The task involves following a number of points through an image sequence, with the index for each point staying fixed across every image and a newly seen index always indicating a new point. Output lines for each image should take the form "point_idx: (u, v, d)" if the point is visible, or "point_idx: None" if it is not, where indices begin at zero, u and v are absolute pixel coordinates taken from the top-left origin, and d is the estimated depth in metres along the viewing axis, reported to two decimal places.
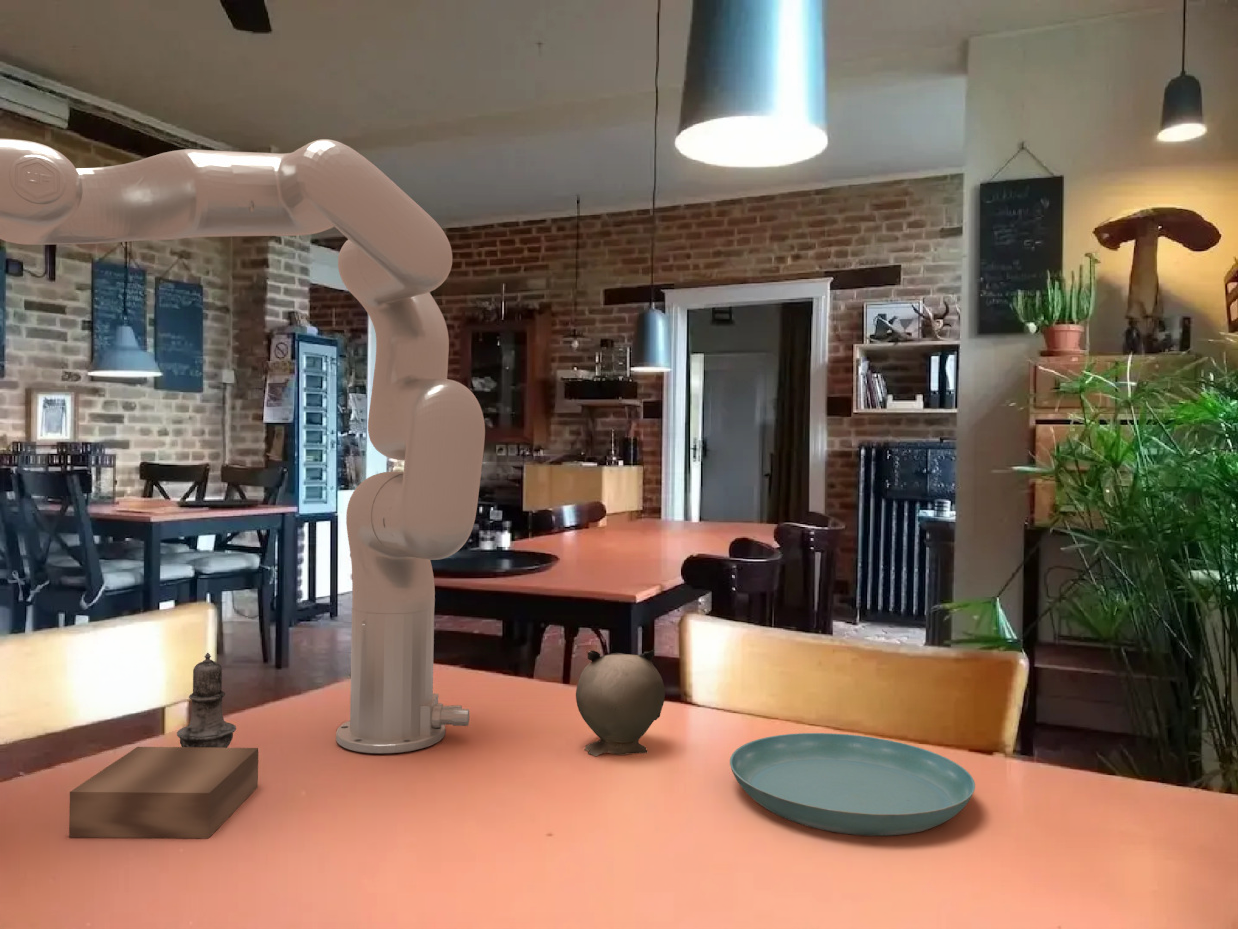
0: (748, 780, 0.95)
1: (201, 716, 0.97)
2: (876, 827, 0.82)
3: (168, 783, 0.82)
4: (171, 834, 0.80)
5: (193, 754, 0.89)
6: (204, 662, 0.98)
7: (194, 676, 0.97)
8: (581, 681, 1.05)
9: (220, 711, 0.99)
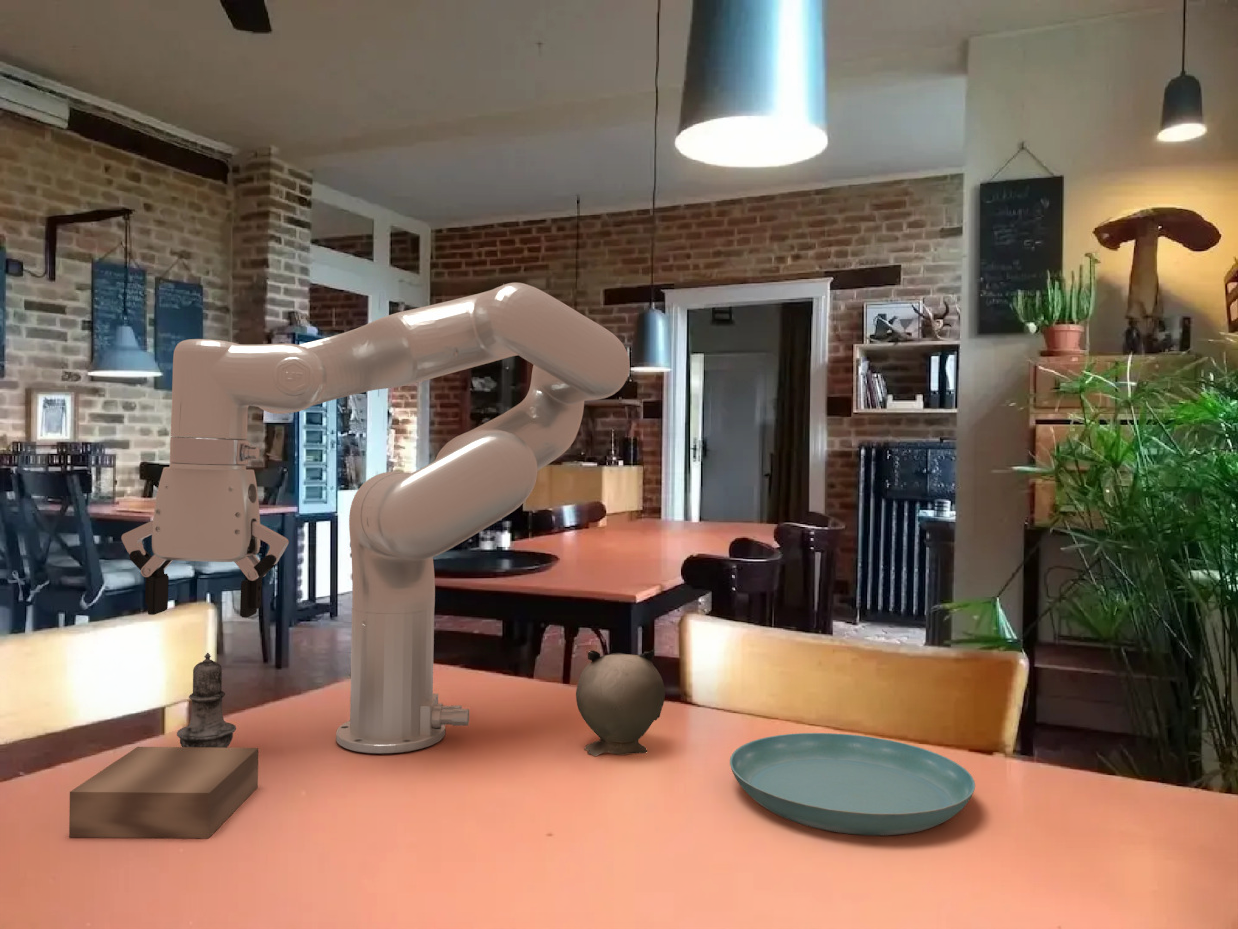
0: (748, 780, 0.95)
1: (201, 716, 0.97)
2: (876, 827, 0.82)
3: (168, 783, 0.82)
4: (171, 834, 0.80)
5: (193, 754, 0.89)
6: (204, 662, 0.98)
7: (194, 676, 0.97)
8: (581, 681, 1.05)
9: (220, 711, 0.99)
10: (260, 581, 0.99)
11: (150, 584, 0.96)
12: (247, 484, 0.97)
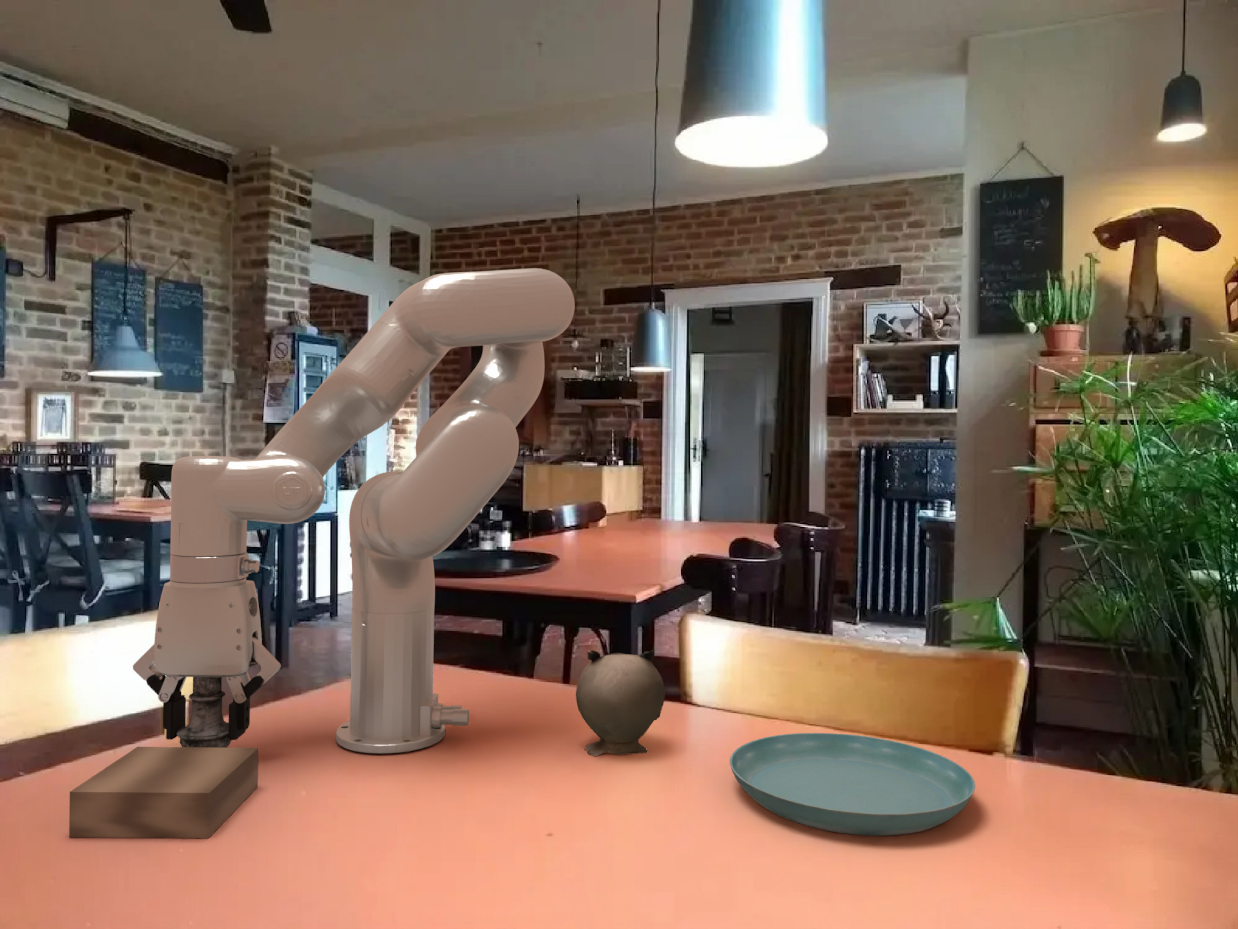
0: (748, 780, 0.95)
1: (201, 716, 0.97)
2: (876, 827, 0.82)
3: (168, 783, 0.82)
4: (171, 834, 0.80)
5: (193, 754, 0.89)
6: None
7: None
8: (581, 681, 1.05)
9: (220, 710, 0.99)
10: (248, 702, 0.99)
11: (168, 710, 0.97)
12: (248, 599, 0.98)
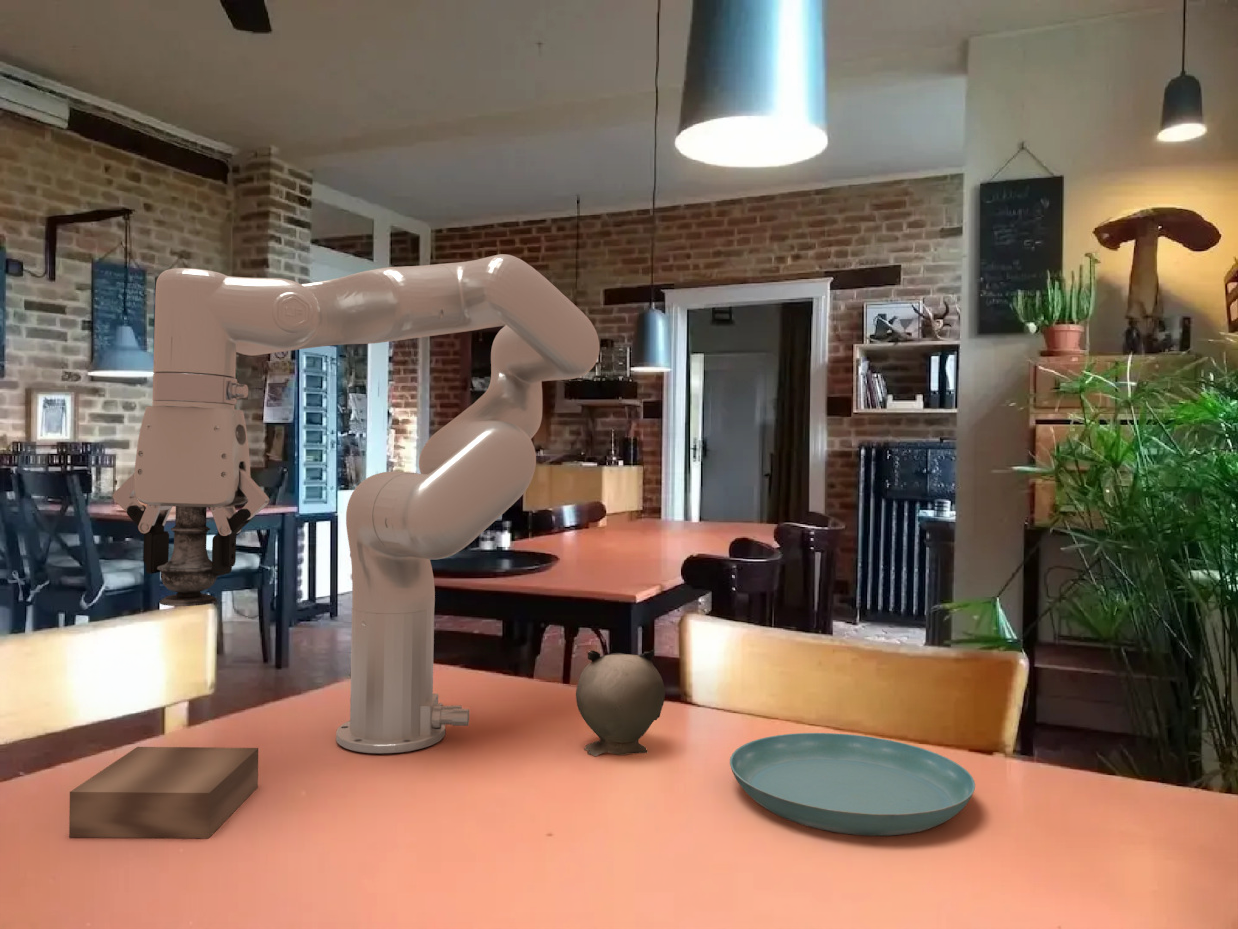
0: (748, 780, 0.95)
1: (183, 548, 0.90)
2: (876, 827, 0.82)
3: (168, 783, 0.82)
4: (171, 834, 0.80)
5: (193, 754, 0.89)
6: None
7: (176, 506, 0.91)
8: (581, 681, 1.05)
9: (204, 545, 0.92)
10: (234, 538, 0.92)
11: (148, 541, 0.90)
12: (234, 424, 0.91)
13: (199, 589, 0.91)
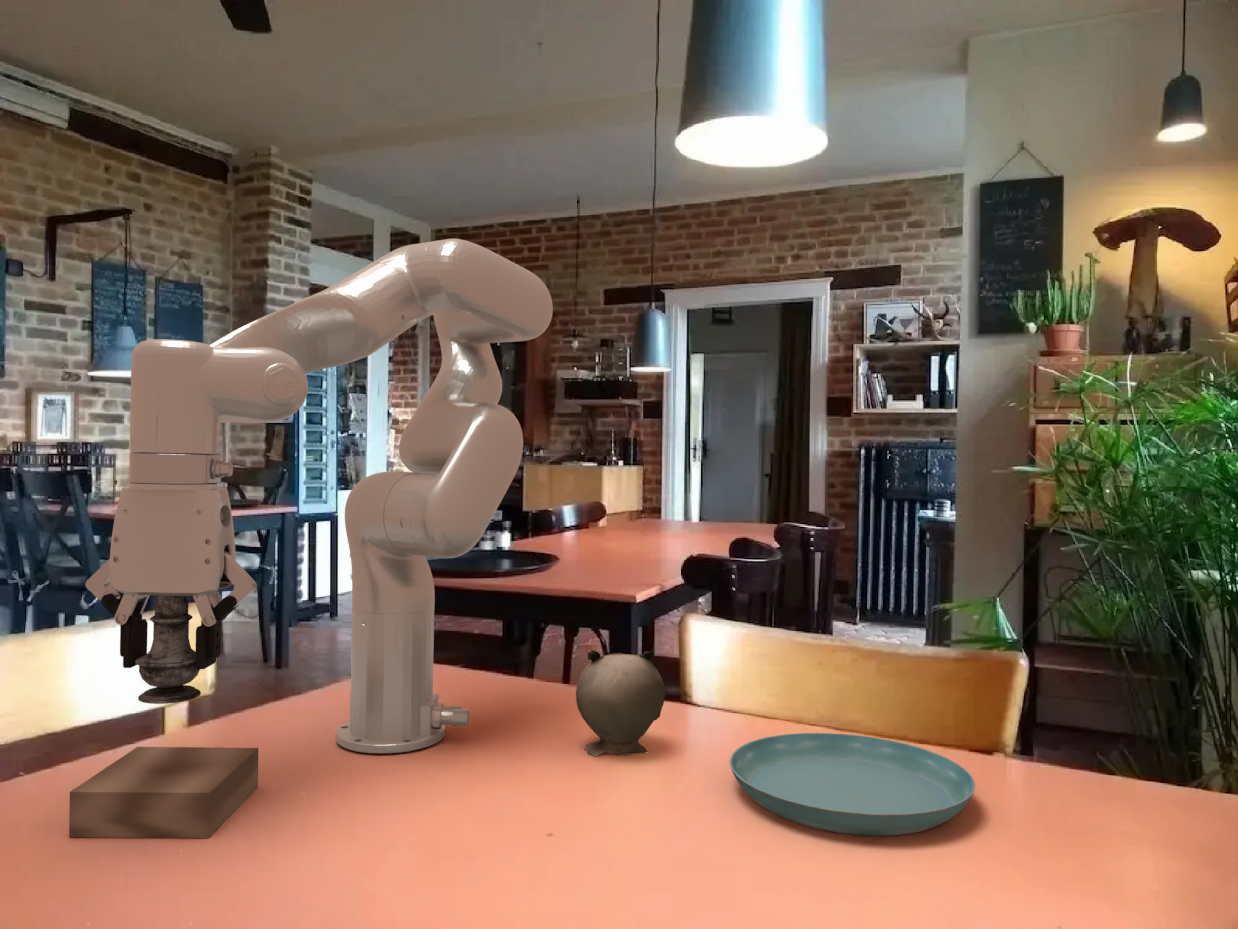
0: (748, 780, 0.95)
1: (164, 640, 0.84)
2: (876, 827, 0.82)
3: (168, 783, 0.82)
4: (171, 834, 0.80)
5: (193, 754, 0.89)
6: None
7: None
8: (581, 681, 1.05)
9: (186, 636, 0.85)
10: (218, 627, 0.86)
11: (125, 633, 0.84)
12: (219, 506, 0.84)
13: (181, 684, 0.84)
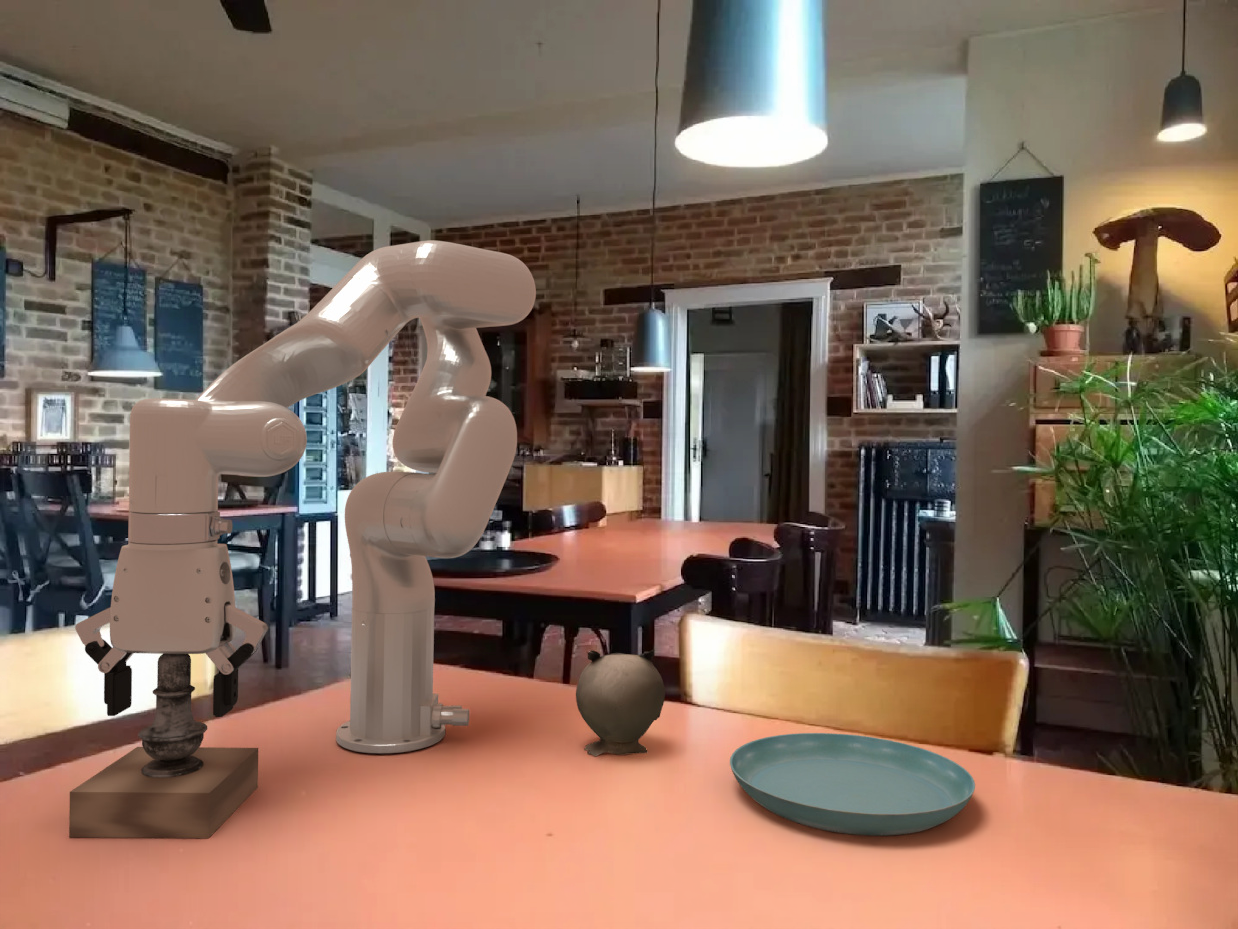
0: (748, 780, 0.95)
1: (166, 713, 0.84)
2: (876, 827, 0.82)
3: (168, 783, 0.82)
4: (171, 834, 0.80)
5: (193, 754, 0.89)
6: None
7: (158, 668, 0.85)
8: (581, 681, 1.05)
9: (189, 708, 0.86)
10: (236, 674, 0.86)
11: (109, 681, 0.84)
12: (218, 563, 0.85)
13: (184, 756, 0.85)
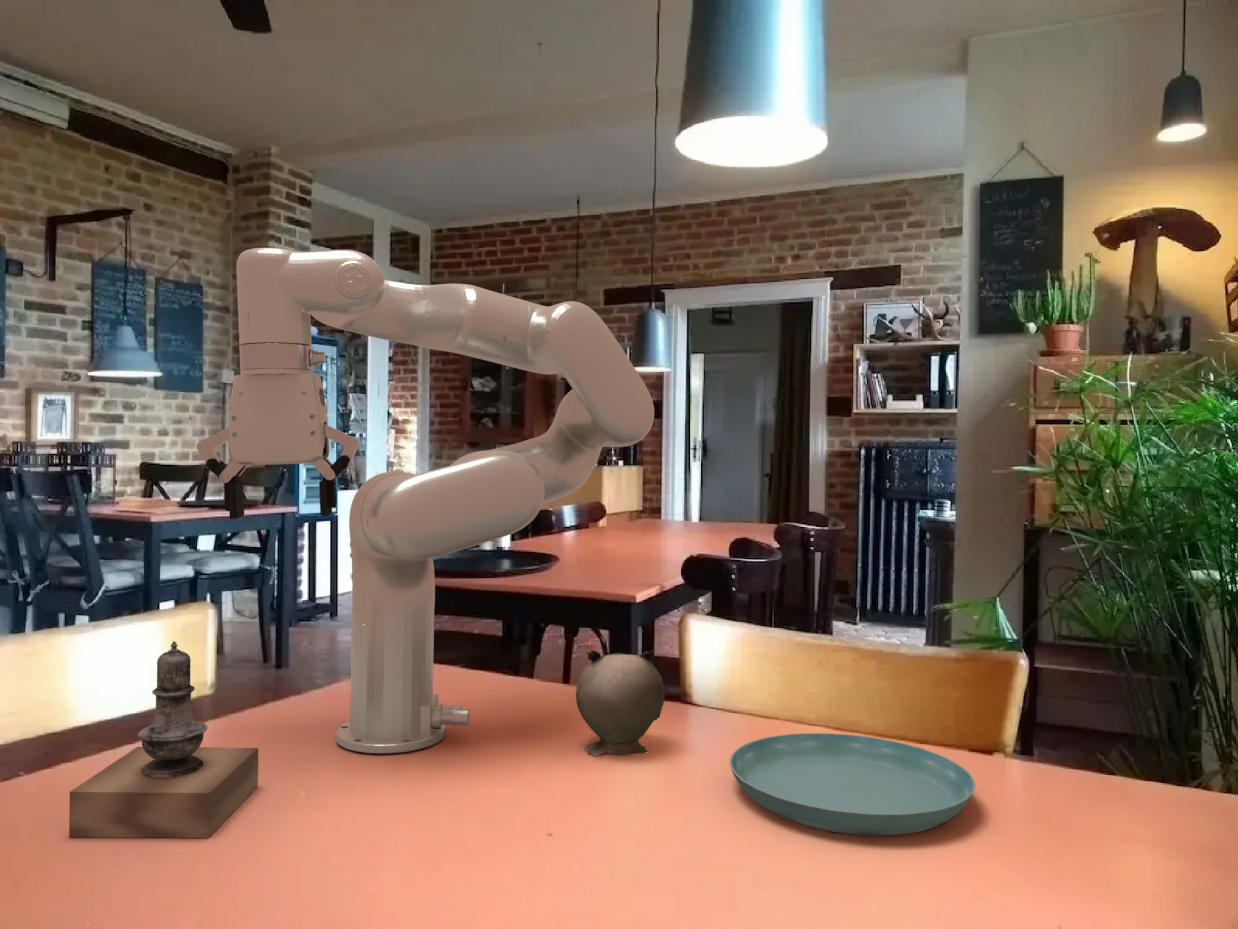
0: (748, 780, 0.95)
1: (166, 714, 0.84)
2: (876, 827, 0.82)
3: (168, 783, 0.82)
4: (171, 834, 0.80)
5: (193, 754, 0.89)
6: (170, 652, 0.85)
7: (158, 668, 0.85)
8: (581, 681, 1.05)
9: (189, 708, 0.86)
10: (335, 482, 1.03)
11: (230, 489, 0.99)
12: (318, 388, 1.01)
13: (184, 756, 0.85)
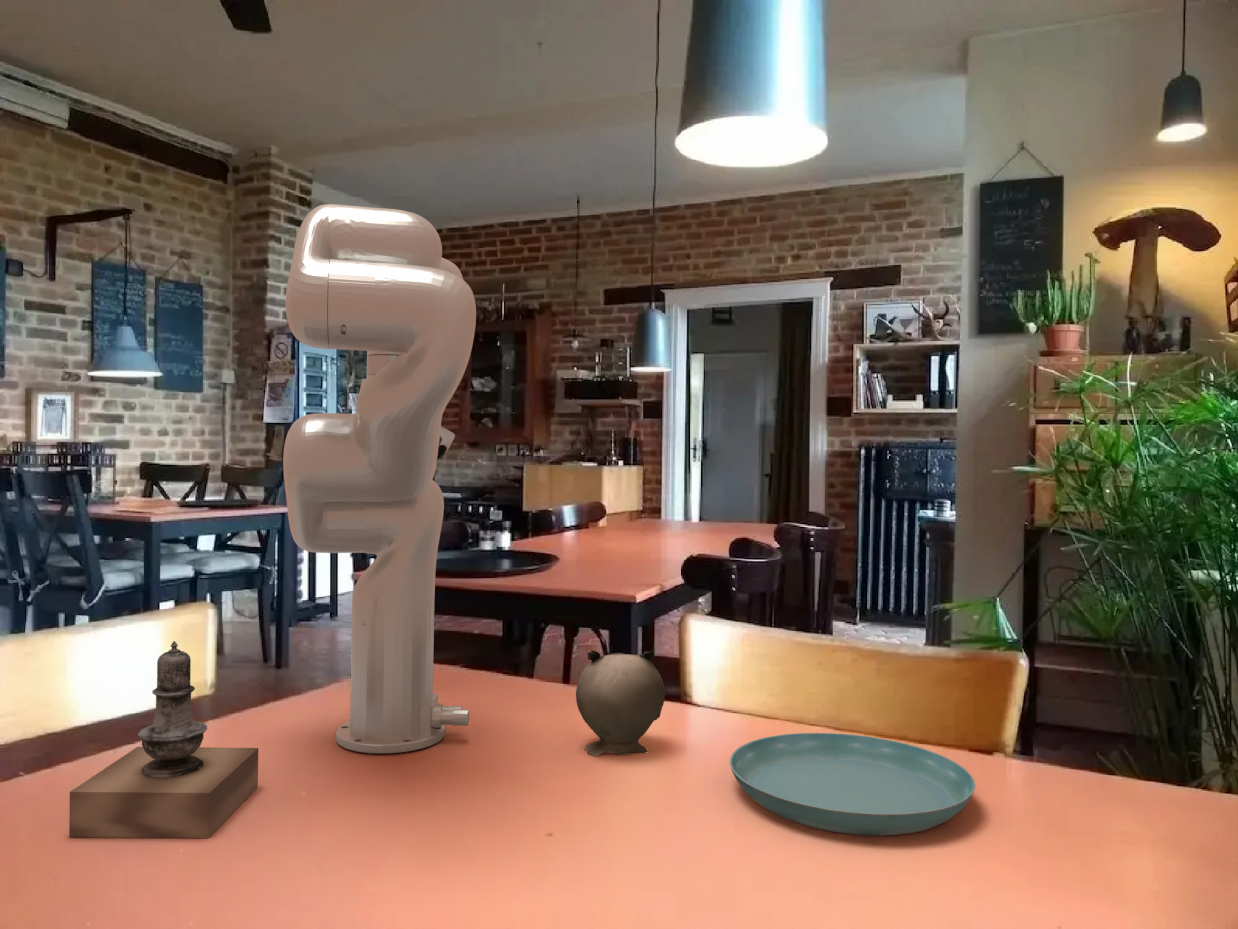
0: (748, 780, 0.95)
1: (166, 714, 0.84)
2: (876, 827, 0.82)
3: (168, 783, 0.82)
4: (171, 834, 0.80)
5: (193, 754, 0.89)
6: (170, 652, 0.85)
7: (158, 668, 0.85)
8: (581, 681, 1.05)
9: (189, 708, 0.86)
10: None
11: None
12: None
13: (184, 756, 0.85)
